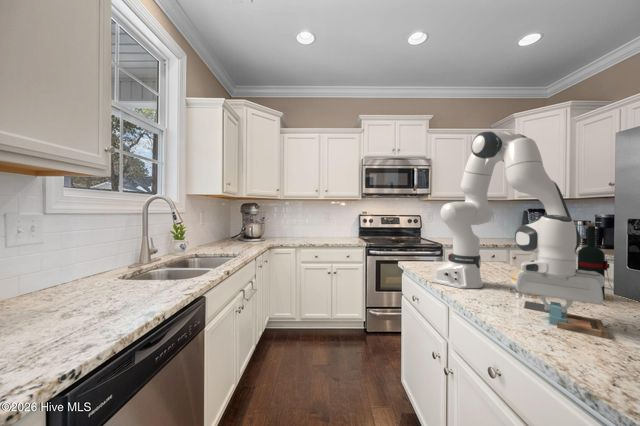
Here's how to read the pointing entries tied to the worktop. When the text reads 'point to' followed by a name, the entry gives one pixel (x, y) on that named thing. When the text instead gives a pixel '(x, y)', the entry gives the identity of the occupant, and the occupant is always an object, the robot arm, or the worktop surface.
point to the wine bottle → (592, 256)
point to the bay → (585, 330)
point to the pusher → (556, 314)
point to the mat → (535, 306)
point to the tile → (578, 322)
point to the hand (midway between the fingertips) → (555, 311)
